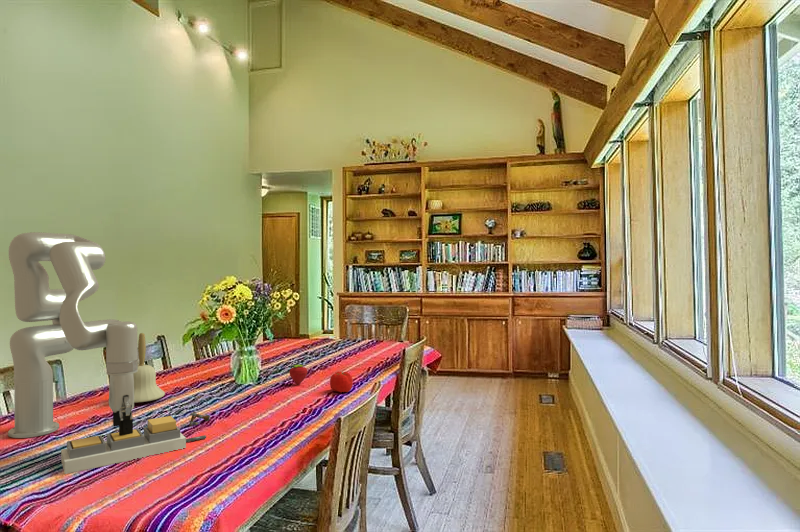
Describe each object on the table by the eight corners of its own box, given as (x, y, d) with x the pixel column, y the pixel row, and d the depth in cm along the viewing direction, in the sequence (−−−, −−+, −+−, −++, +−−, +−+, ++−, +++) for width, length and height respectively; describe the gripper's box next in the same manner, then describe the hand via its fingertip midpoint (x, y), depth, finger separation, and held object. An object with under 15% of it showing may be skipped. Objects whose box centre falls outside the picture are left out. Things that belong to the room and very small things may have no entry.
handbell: (109, 403, 187) (108, 333, 187) (146, 393, 200) (146, 329, 200) (136, 408, 180) (136, 337, 180) (173, 398, 193) (173, 331, 193)
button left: (71, 449, 133) (71, 440, 133) (98, 444, 136) (98, 435, 136) (73, 456, 128) (73, 447, 128) (101, 450, 132) (101, 442, 132)
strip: (61, 461, 133) (61, 441, 133) (201, 433, 154) (201, 416, 154) (64, 474, 125) (64, 452, 125) (211, 443, 146) (211, 425, 146)
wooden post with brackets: (185, 425, 160) (189, 410, 161) (202, 428, 167) (206, 414, 168) (189, 426, 159) (194, 411, 161) (206, 429, 166) (210, 414, 168)
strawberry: (306, 386, 212) (306, 362, 212) (288, 386, 212) (288, 362, 212) (308, 383, 218) (308, 359, 218) (290, 383, 218) (290, 359, 218)
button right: (147, 427, 144) (147, 419, 144) (170, 423, 147) (170, 415, 147) (152, 433, 139) (152, 425, 139) (176, 429, 142) (176, 421, 142)
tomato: (342, 395, 198) (342, 376, 198) (325, 392, 204) (325, 373, 204) (358, 390, 206) (358, 372, 206) (342, 387, 211) (342, 369, 211)
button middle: (110, 441, 138) (110, 433, 138) (135, 437, 142) (135, 429, 142) (114, 448, 133) (114, 439, 133) (140, 443, 137) (140, 435, 137)
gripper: (101, 364, 146) (102, 424, 146) (111, 374, 132) (112, 441, 132) (131, 360, 150) (131, 419, 151) (144, 370, 137) (144, 435, 137)
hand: (122, 429), depth 141 cm, fingers open, 9 cm apart
